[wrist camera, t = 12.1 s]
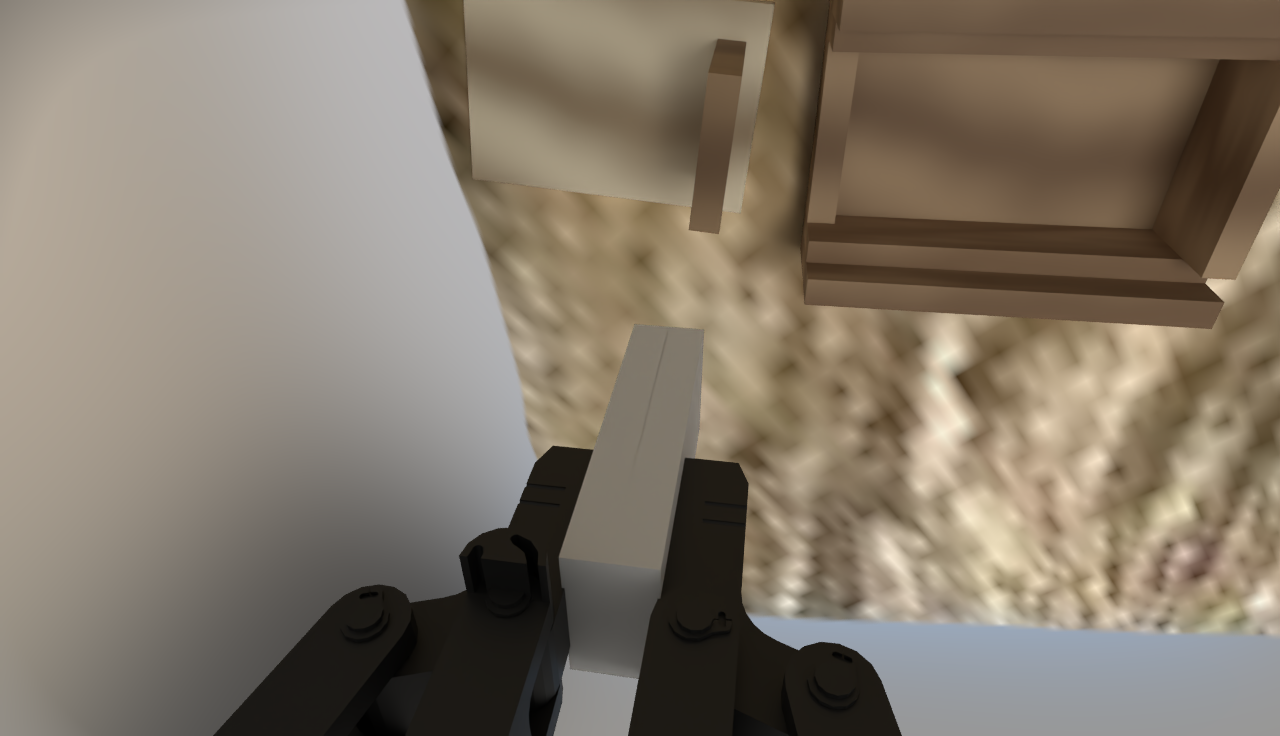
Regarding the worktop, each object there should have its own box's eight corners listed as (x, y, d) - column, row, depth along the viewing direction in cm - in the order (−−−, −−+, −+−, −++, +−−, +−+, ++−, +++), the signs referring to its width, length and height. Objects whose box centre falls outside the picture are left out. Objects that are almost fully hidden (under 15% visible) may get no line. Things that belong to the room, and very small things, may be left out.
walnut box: (833, -29, 30) (844, -8, 25) (1273, -27, 28) (1372, -3, 23) (800, 248, 37) (804, 304, 32) (1153, 266, 35) (1211, 328, 30)
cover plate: (469, -32, 32) (404, -8, 26) (774, 0, 31) (775, 33, 26) (479, 171, 37) (426, 229, 32) (741, 205, 36) (736, 270, 31)
